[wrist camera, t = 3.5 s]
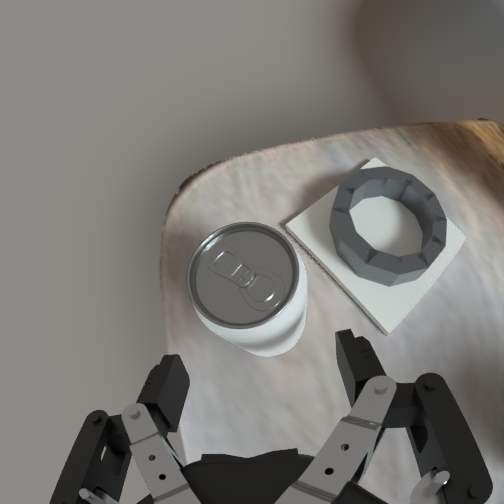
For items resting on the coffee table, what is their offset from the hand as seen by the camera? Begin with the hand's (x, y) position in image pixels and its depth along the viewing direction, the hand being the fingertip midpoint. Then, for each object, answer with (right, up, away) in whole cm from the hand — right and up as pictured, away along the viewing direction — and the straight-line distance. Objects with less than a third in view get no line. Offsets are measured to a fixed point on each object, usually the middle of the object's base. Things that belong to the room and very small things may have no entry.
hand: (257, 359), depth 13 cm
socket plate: (+13, +7, +13) cm, 19 cm away
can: (+1, -1, +11) cm, 11 cm away
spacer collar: (+13, +7, +12) cm, 19 cm away
